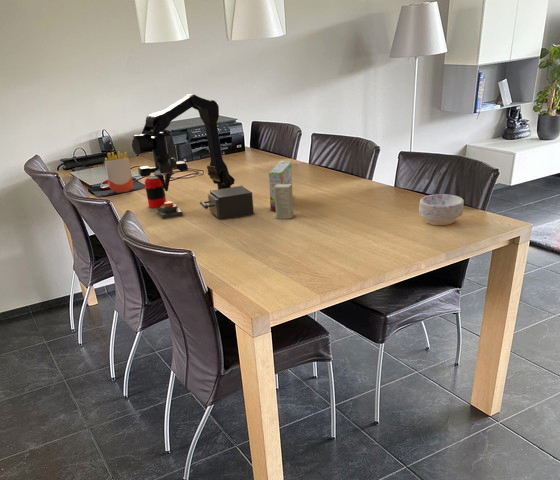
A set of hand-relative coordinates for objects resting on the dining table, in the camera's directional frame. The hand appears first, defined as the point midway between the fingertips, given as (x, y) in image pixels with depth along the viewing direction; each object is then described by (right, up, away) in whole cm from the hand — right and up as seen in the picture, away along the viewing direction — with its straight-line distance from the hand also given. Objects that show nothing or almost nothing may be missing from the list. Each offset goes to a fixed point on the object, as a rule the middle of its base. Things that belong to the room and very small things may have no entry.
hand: (166, 190), depth 230 cm
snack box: (+47, -3, +9) cm, 48 cm away
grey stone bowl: (+103, -19, -23) cm, 108 cm away
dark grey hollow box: (+27, -9, +1) cm, 28 cm away
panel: (0, -8, +5) cm, 9 cm away
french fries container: (-30, +13, +43) cm, 54 cm away
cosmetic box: (+47, -13, -7) cm, 50 cm away
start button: (0, -5, +3) cm, 6 cm away
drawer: (+23, -9, 0) cm, 25 cm away
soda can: (-7, -1, +17) cm, 18 cm away
